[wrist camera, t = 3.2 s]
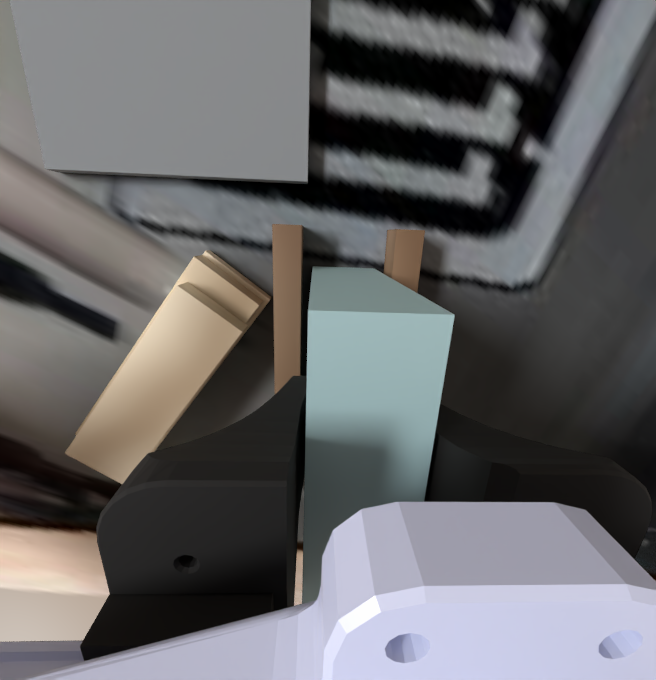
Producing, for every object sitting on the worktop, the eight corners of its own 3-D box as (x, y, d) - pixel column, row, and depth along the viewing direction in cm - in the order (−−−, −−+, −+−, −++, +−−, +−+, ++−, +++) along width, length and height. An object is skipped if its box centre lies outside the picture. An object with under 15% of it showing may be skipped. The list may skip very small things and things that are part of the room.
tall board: (308, 453, 16) (301, 657, 8) (312, 266, 13) (308, 310, 5) (358, 453, 16) (398, 655, 8) (374, 268, 13) (455, 314, 5)
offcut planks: (96, 420, 15) (51, 458, 13) (212, 249, 13) (187, 253, 10) (152, 453, 16) (121, 495, 13) (273, 296, 14) (262, 309, 11)
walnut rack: (279, 478, 16) (276, 502, 15) (277, 225, 12) (272, 224, 11) (384, 479, 16) (390, 502, 15) (412, 230, 13) (424, 230, 11)
